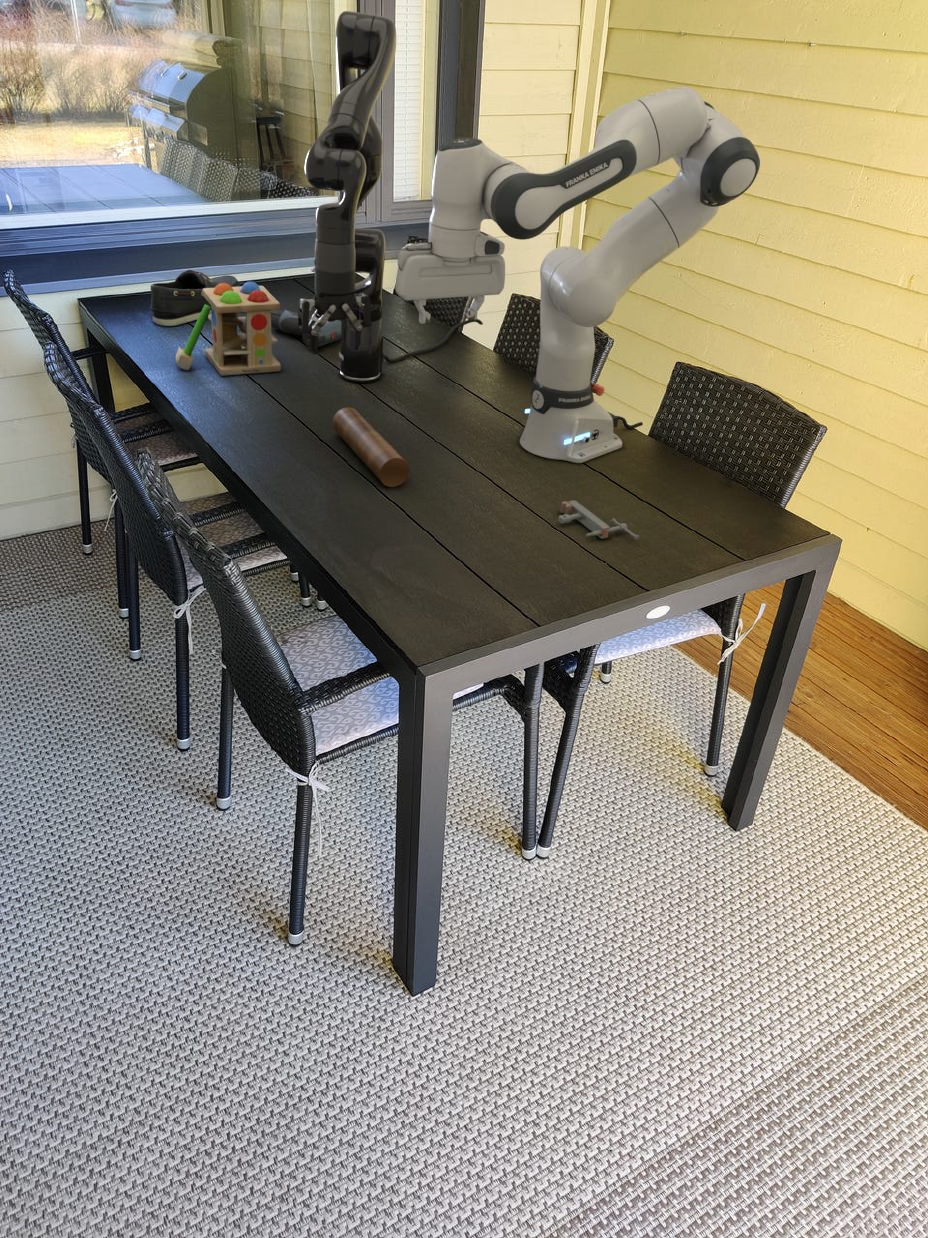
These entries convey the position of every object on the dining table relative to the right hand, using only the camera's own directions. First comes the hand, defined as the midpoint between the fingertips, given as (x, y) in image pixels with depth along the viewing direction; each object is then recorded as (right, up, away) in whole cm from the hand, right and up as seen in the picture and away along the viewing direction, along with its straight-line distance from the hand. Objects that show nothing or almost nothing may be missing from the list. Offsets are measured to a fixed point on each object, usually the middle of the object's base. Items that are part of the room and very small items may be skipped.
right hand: (447, 321), depth 177 cm
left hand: (-22, -2, +13) cm, 26 cm away
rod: (-16, -22, +18) cm, 33 cm away
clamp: (+26, -38, +1) cm, 46 cm away
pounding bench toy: (-53, +6, +53) cm, 75 cm away
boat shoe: (-68, +29, +84) cm, 112 cm away
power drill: (-37, +20, +76) cm, 87 cm away
